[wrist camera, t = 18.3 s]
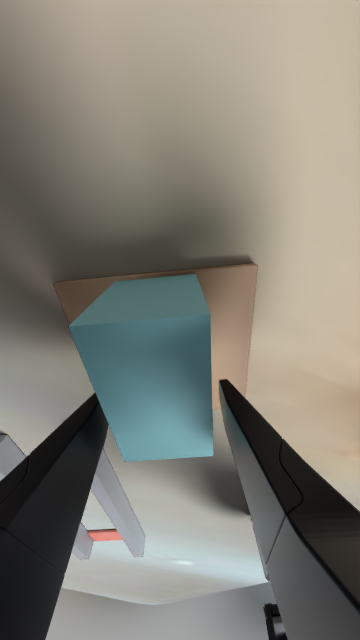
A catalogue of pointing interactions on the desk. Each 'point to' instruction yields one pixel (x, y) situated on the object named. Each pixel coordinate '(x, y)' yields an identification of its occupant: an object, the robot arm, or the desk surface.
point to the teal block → (151, 365)
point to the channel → (5, 456)
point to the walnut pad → (223, 303)
